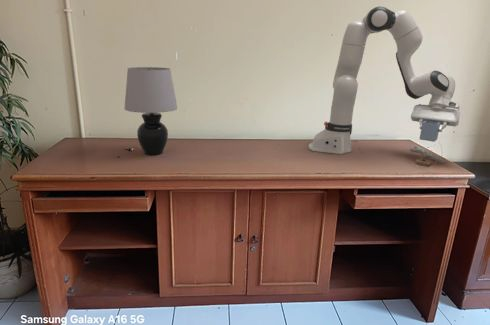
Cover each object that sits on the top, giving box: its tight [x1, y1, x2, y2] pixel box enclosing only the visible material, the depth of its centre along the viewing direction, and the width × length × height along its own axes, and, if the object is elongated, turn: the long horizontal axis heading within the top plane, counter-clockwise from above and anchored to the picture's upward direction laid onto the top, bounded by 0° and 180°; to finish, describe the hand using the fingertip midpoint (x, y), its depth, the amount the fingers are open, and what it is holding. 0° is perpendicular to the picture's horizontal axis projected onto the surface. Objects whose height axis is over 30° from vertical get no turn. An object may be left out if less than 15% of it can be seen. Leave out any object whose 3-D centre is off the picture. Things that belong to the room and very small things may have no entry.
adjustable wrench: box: [409, 146, 446, 164], centre depth 183 cm, size 25×6×2 cm, turn 4°
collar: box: [419, 120, 441, 143], centre depth 164 cm, size 6×6×8 cm
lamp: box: [124, 66, 178, 157], centre depth 167 cm, size 24×24×40 cm
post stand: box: [414, 150, 433, 168], centre depth 168 cm, size 6×6×6 cm
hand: (430, 129), depth 165 cm, fingers closed on collar, 6 cm apart
